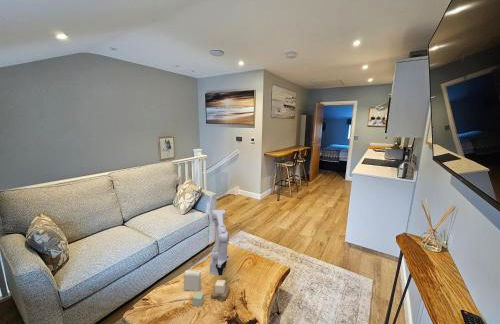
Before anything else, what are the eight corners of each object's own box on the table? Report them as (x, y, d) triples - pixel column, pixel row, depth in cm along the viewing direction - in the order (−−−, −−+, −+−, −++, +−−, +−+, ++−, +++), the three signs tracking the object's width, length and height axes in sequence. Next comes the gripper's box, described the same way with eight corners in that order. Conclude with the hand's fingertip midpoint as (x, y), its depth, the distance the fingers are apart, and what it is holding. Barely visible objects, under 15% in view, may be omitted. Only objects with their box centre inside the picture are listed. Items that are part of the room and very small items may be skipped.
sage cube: (192, 305, 114) (192, 297, 114) (195, 299, 119) (196, 291, 119) (200, 307, 114) (200, 299, 113) (203, 300, 119) (204, 292, 118)
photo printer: (183, 290, 125) (183, 272, 124) (185, 285, 130) (185, 267, 128) (199, 291, 125) (200, 272, 124) (201, 286, 130) (201, 268, 128)
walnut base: (211, 299, 119) (210, 295, 119) (216, 289, 128) (215, 284, 128) (225, 301, 118) (225, 296, 117) (229, 290, 127) (229, 286, 126)
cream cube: (215, 293, 120) (214, 285, 120) (217, 287, 125) (217, 279, 125) (223, 293, 120) (223, 286, 119) (225, 288, 125) (225, 280, 124)
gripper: (225, 258, 122) (225, 279, 123) (231, 246, 136) (230, 265, 138) (214, 257, 123) (213, 278, 124) (221, 245, 137) (220, 264, 139)
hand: (222, 271), depth 131 cm, fingers open, 7 cm apart
